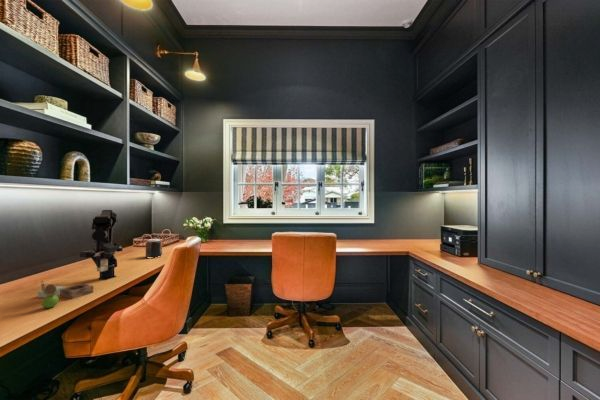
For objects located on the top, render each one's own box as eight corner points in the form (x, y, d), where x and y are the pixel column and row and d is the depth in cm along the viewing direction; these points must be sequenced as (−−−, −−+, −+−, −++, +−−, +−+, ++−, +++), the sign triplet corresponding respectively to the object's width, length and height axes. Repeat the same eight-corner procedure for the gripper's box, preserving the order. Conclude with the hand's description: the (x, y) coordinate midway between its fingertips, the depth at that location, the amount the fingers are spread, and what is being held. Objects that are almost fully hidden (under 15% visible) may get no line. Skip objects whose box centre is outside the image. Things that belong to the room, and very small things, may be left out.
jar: (153, 259, 201) (153, 240, 201) (142, 258, 204) (142, 240, 204) (165, 256, 212) (165, 238, 212) (154, 255, 216) (154, 238, 216)
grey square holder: (81, 290, 131) (81, 283, 131) (93, 292, 128) (93, 285, 128) (59, 296, 122) (60, 289, 122) (72, 299, 119) (72, 291, 119)
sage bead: (51, 292, 128) (51, 286, 128) (65, 291, 128) (65, 286, 128) (37, 297, 121) (37, 291, 121) (52, 297, 121) (52, 291, 121)
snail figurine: (47, 305, 112) (47, 278, 112) (62, 304, 112) (62, 278, 113) (35, 310, 107) (35, 282, 107) (51, 309, 107) (51, 282, 107)
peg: (103, 269, 138) (103, 258, 138) (107, 270, 137) (107, 258, 137) (96, 271, 135) (96, 259, 135) (101, 271, 134) (101, 259, 134)
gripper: (93, 242, 125) (93, 272, 125) (129, 237, 143) (129, 263, 142) (79, 241, 128) (79, 271, 128) (115, 236, 146) (115, 262, 146)
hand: (102, 266), depth 136 cm, fingers closed on peg, 3 cm apart
